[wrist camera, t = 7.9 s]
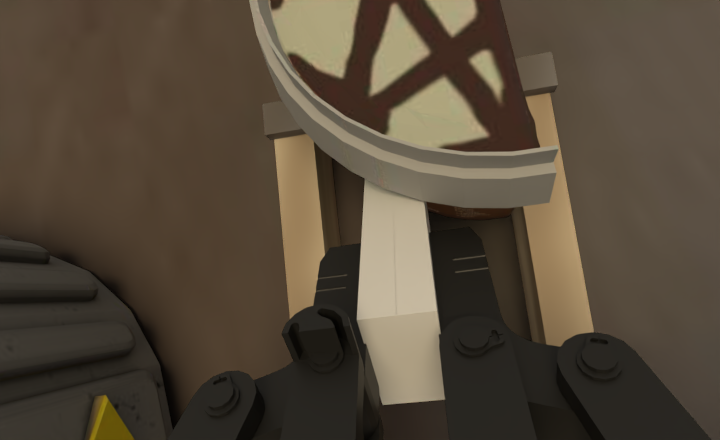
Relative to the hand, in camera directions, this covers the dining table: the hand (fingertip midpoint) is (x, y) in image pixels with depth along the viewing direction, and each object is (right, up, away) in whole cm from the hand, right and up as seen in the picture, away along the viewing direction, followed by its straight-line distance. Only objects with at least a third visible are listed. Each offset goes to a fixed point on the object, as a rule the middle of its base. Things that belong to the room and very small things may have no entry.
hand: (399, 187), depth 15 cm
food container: (+1, +3, +6) cm, 7 cm away
